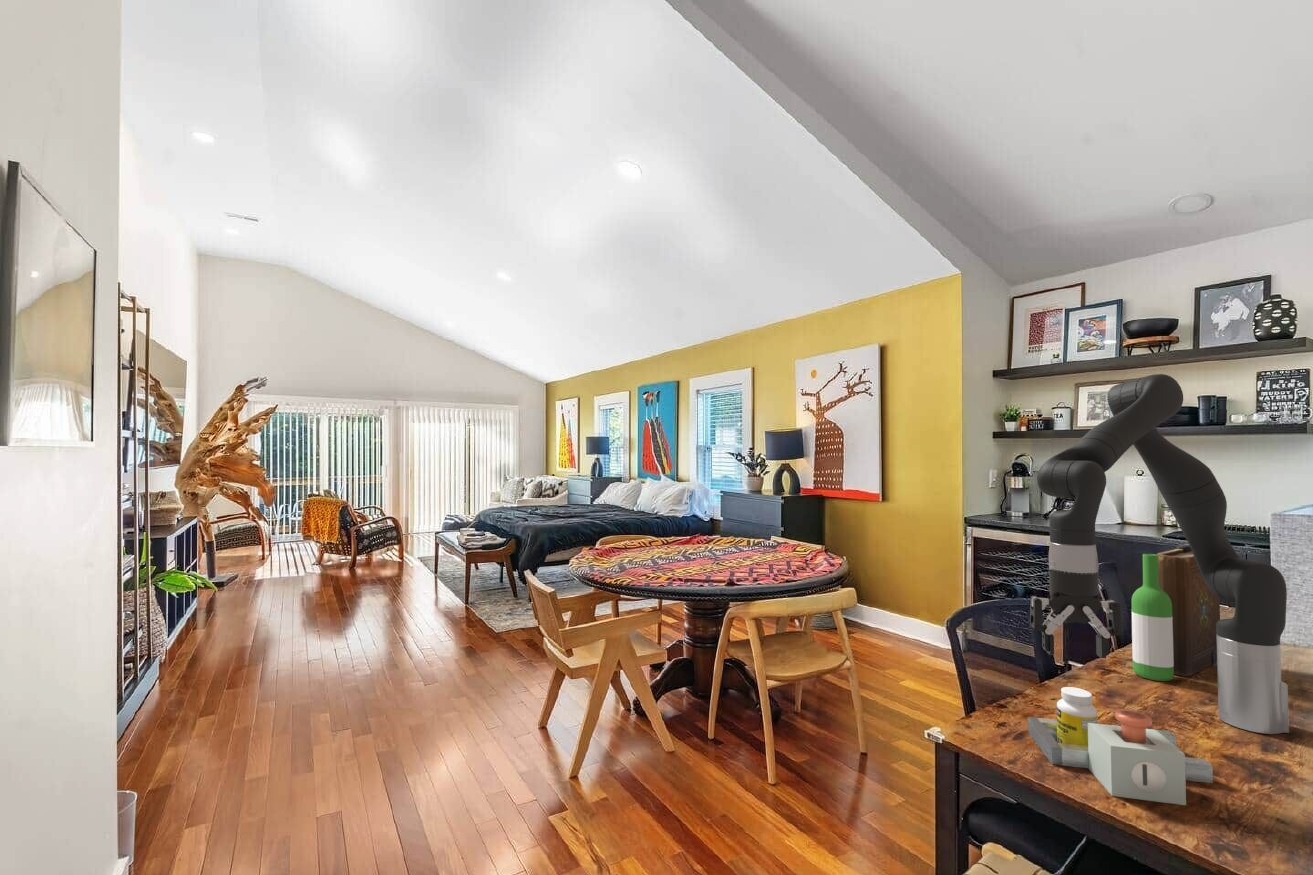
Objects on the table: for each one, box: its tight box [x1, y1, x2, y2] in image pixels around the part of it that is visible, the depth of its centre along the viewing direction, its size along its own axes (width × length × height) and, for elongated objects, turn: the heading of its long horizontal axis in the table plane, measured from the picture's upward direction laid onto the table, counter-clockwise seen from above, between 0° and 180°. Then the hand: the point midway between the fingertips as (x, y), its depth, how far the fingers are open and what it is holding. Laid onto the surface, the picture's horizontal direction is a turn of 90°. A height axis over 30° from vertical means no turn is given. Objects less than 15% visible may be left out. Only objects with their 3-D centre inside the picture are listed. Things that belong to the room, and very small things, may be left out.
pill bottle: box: [1056, 686, 1099, 746], centre depth 109 cm, size 6×6×11 cm
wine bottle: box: [1131, 553, 1175, 682], centre depth 146 cm, size 8×8×30 cm
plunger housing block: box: [1088, 723, 1187, 806], centre depth 98 cm, size 10×9×8 cm
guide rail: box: [1027, 716, 1214, 784], centre depth 108 cm, size 24×12×3 cm, turn 75°
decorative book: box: [1155, 543, 1221, 677], centre depth 153 cm, size 23×7×30 cm, turn 122°
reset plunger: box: [1114, 708, 1153, 744], centre depth 98 cm, size 5×5×4 cm
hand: (1075, 655), depth 110 cm, fingers open, 8 cm apart
